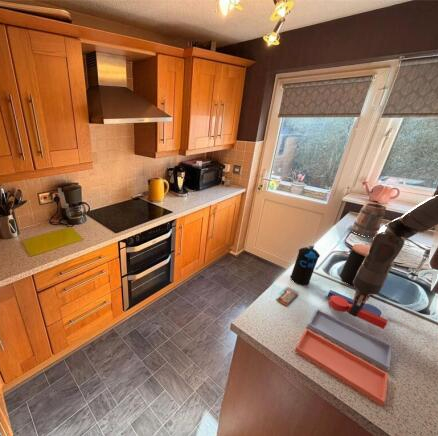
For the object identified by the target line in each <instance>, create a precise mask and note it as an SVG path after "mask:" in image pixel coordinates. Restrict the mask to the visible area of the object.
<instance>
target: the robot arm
mask: <svg viewBox="0 0 438 436" xmlns="http://www.w3.org/2000/svg"><path fill="white" fill-rule="evenodd" d="M435 227H438V194H436V195H433V196H432V197H429V198H428V199H426V200H424V201H422V202H421V203H419V204H418V205H416V206H414V207H413V208H411V209H410V210H408V211H407V212H406V213H404V214H403V215H401V216H399V217H397V218H395V219H393V220H392V221H389V222H387V223H386V224H384V225H383V226H380V228H379V230H378V231H377V233H376V235H375V237H374V239H372V242H371V244H370V246H371V247H370V250H369V252H368V253H367V255H366V257H365V259H364V261H363V263H362V265H361V266H360V268H359V270H358V272H357V274H356V276H355V279H354V281H353V285H354V286H355V287H354V288H356V289H355V292H354V295H353V298H352V299H353V302H354V303H353V305H352V306H351V307H352V308H351V310H350V312H349V313H348V314H349V315H350V316H352V317H354V318H355V317H356V316H357V314H358V312H360V311H361V308H362V307H363V306H364V305H365V304H367V301H369V299H370V298H371V295H378V294H380V293H381V290H382V288H383V287H384V284H385V283H386V281H387V279H388V276H389V273H390V271H391V269H392V267H393V265H394V263H395V260H396V259H397V257H398V256H399V254H400V253H401V251H402V249H403V248H404V246H405V243H406V241H407V240H408V239H410V238H411V237H413V236H415V235H417V234H423V233H426V232H428V231H430V230H432V229H434V228H435ZM356 318H357V317H356Z"/></svg>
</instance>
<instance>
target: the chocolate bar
mask: <svg viewBox="0 0 438 436" xmlns="http://www.w3.org/2000/svg"><path fill="white" fill-rule="evenodd" d="M298 296H299V294H298V293H297V292H294V291H292V290H291V289H289V288H287V289H286V290H285V291H284V292H283V293H282V294H281V295H280V296H279V297H278V298H276V299H275V300H276V301H278V302H279V303H282V304H283V305H285V306H287V307H289V305H290V304H291V303H292V302H293V301H294V300H295V299H296V298H297V297H298Z"/></svg>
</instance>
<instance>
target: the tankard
mask: <svg viewBox="0 0 438 436" xmlns="http://www.w3.org/2000/svg"><path fill="white" fill-rule="evenodd" d="M386 209H387V206H385V205H382V204H379V203H373V202H365V203H364V205H363V206H362V207H361V208H360V210H359V213H358V214H357V217H356V219H355V220H354V222H353V225H350V226H349V227H347V231H348V232H350V231H353V232H355V233H357V234H360V235H363V236H365V237H368V236H369V237H375V235H376V233H377V231H378V230H379V229H380V228H381V224H382V221H383V220H384V217H385V216H386ZM365 237H364V238H365Z"/></svg>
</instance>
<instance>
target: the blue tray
mask: <svg viewBox="0 0 438 436" xmlns="http://www.w3.org/2000/svg"><path fill="white" fill-rule="evenodd" d="M306 329H308V330H310V331H312V332H314V333H315V334H317V335H319V336H321V337H323V338H324V339H326V340H328V341H330V342H332V343H334V344H335V345H337V346H339V347H341V348H343V349H344V350H346V351H348V352H350V353H352V354H353V355H355V356H357V357H359V358H361V359H362V360H364V361H366V362H368V363H370V364H371V365H373V366H375V367H377V368H379V369H381V370H382V371H384V372H387V371H388V370H389V369H390V366H391V365H390V364H391V357H392V349H393V345H392V344H390V343H388V342H386V341H384V340H382V339H380V338H378V337H376V336H374V335H372V334H370V333H367V332H365V330H361V329H359V328H357V327H355V326H353V325H351V324H349V323H347V322H346V321H343V320H341V319H339V318H337V317H335V316H333V315H331V314H329V313H328V312H325V311H323V310H320V309H319V308H316V309H315V311H314V312H313V315H312V317H311V318H310V320H309V322H308V324H307V326H306Z"/></svg>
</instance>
